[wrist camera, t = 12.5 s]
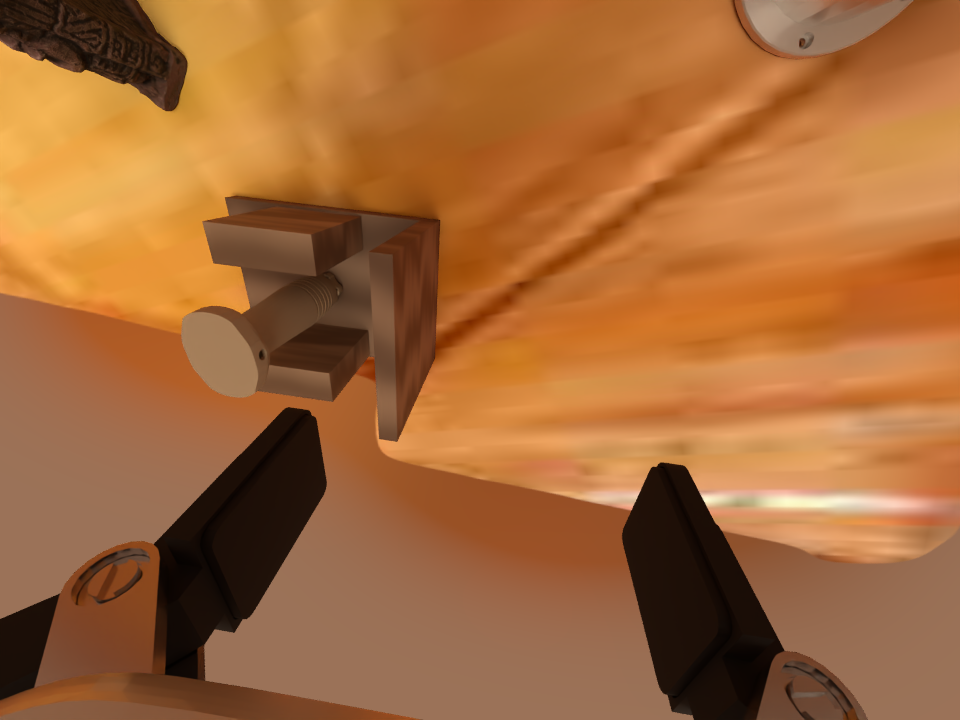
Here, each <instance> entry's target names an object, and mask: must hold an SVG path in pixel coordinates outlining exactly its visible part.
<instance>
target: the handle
mask: <svg viewBox="0 0 960 720" xmlns="http://www.w3.org/2000/svg"><path fill="white" fill-rule="evenodd" d="M341 292H342V285H341V284H339V283H338V282H337V280H336V279H335V277H334V275H333V274H332V273H327V274H323V273H322V274H320V275H318V276H306V277H303V278H300V279H298V280H295V281H293V282H291V283H289V284H287V285H285V286H283V287H282V288H280V289H279V290H277V291H276V292H274V293H273V294H271V295H270V296H268V297H267V298H265V299H264V300H262V301H261V302H260V303H258V304H257V305H255V306H253V307H252V308H250V309H249V310H247V311H246V312H244V313H243V314H240V313H239V312H237V311H235V310H233V309H230V308H226V307H221V306H209V307H204V308H201V309H198V310H196V311H194V312H192V313H190V314H188V315H186V316H185V317H184V318H183V321H182V333H181V336H182V343H183V346H184V349H185V351H186V354H187V356H188V358H189V361H190V363H191V365H192V366H193V368H194V369H195V371H196V372H197V373H198V375H199V376H200V377H201V378H202V379H203V380H204V381H205V383H206V384H207V385H208V386H209V387H210V388H211V389H213V390H214V391H216V392H218V393H221V394H223V395H226V396H231V397H248V396H250V395H252V394H254V393H255V392H257V391H258V390H259V389H260V388H261V387H262V386H263V385H264V384H265V381H266V378H267V375H268V370H269V364H270V353H271V352H272V351H274V350H275V349H277V348H278V347H280V346H281V345H283V344H284V343H286V342H287V341H289V340H290V339H292V338H293V337H295V336H296V335H298V334H300V333H301V332H303V331H304V330H306V329H307V328H309V327H311V326H312V325H313V324H315V323H316V322H317V321H318V320H320V319H321V318H322V317H323V316H324V315H325V314H326V313H327V312H328V311H329V310H330V309H331V307H332V306H333V305H334V304H335V303H336V302H337V301H338V296H339V294H340V293H341Z"/></svg>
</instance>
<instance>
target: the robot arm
mask: <svg viewBox="0 0 960 720" xmlns="http://www.w3.org/2000/svg"><path fill="white" fill-rule="evenodd" d="M734 1H735V7H736V10H737V13H738V15H739V18H740V21H741V23H742V26H743V27H744V29H745V30H746V31H747V33H748V34H749V36H750V37H751V39H752V40H753V41H754V42H756V43H757V44H758V45H759V46H760V47H762V48H763V49H764V50H766V51H768V52H770V53H772V54H775V55H777V56H779V57H786V58H792V59H804V58H815V57H819V56H822V55H826V54H829V53H833V52H836V51H838V50H841V49H844V48H846V47H849V46H851V45H854V44H856V43H857V42H859V41H861V40H863V39H864V38H866V37H868V36H870V35H872V34H873V33H875V32H876V31H878V30H879V29H880V28H882V27H883V26H884V25H886V24H887V23H888V22H890V21H891V20H892V19H894V18H895V17H896V16H897V15H899V14H900V13H901V12H902V11H903V10H904V9H905V8H906V7H907V6H908V5H909V4H910V3H911V2H912V1H913V0H734ZM799 40H800V41H801V46H800V47H799ZM326 485H327V481H326V475H325V469H324V463H323V457H322V450H321V445H320V438H319V432H318V426H317V420H316V418H315V417H314V416H312V415H311V412H310V411H309V410H303V409H297V408H290V407H288V408H285V409H284V410H283V411H282V412H281V413H280V414H279V415H278V416H277V417H276V418H275V419H274V420H273V421H272V422H271V423H270V425H269V426H268V427H267V428H266V429H265V430H264V431H263V432H262V433H261V434H260V435H259V436H258V437H257V438H256V439H255V440H254V441H253V442H252V443H251V444H250V446H248V447H247V449H246V450H245V451H244V452H243V453H242V454H240V455H239V456H238V457H237V458H236V459H235V460H234V461H233V462H232V463H231V464H230V465H229V466H228V468H226V469H225V470H224V472H223V473H222V474H221V475H220V476H219V477H218V478H217V479H216V480H215V481H214V482H213V483H212V484H211V485H210V486H209V487H208V488H207V490H205V491H204V492H203V493H202V494H201V496H200V497H199V498H198V499H197V500H196V501H195V502H194V503H193V504H192V505H191V506H190V507H189V508H188V509H187V510H186V511H185V512H184V513H183V514H182V515H181V516H180V517H179V518H178V519H177V521H175V523H174V524H173V525H172V526H171V527H170V528H169V529H168V530H167V531H166V532H165V533H164V534H163V535H162V536H161V537H160V538H159V539H158V540H157V541H156V542H155V543H154V544H152V543H148V542H145V541H137V542H128V543H125V544H121V545H117V546H115V547H113V548H110V549H108V550H106V551H103V552H102V553H100V554H98V555H97V556H95V557H94V558H92V559H90V560H89V561H87V562H86V563H85V564H84V565H83V566H81V567H80V568H79V569H78V570H77V571H76V572H74V574H73V575H72V576H71V577H70V578H69V580H68V581H67V582H66V583H65V585H64V587H63V589H62V591H61V593H60V594H58V595H56V596H53V597H51V598H48V599H46V600H44V601H41V602H39V603H37V604H34V605H32V606H30V607H27V608H25V609H23V610H20V611H18V612H16V613H13V614H11V615H9V616H6V617H4V618H2V619H0V720H420V719H415V718H410V717H405V716H399V715H394V714H389V713H383V712H378V711H373V710H367V709H362V708H356V707H350V706H345V705H340V704H335V703H329V702H324V701H317V700H312V699H306V698H301V697H296V696H291V695H285V694H280V693H274V692H268V691H263V690H258V689H252V688H247V687H240V686H234V685H228V684H221V683H215V682H209V681H205V652H204V644H205V643H206V641H207V640H208V638H209V637H210V635H211V634H212V632H213V631H214V629H217V630H222V631H228V632H233V633H234V632H235V631H236V629H237V628H238V626H239V624H240V623H241V621H242V619H247V618H248V617H250V616H251V615H252V613H253V612H254V610H255V609H256V607H257V605H258V604H259V602H260V600H261V599H262V597H263V595H264V594H265V592H266V590H267V588H268V587H269V585H270V584H271V582H272V580H273V579H274V577H275V575H276V574H277V572H278V570H279V569H280V567H281V565H282V563H283V562H284V560H285V558H286V557H287V555H288V554H289V552H290V550H291V549H292V547H293V545H294V543H295V542H296V540H297V538H298V537H299V535H300V534H301V532H302V530H303V529H304V527H305V525H306V524H307V522H308V520H309V518H310V517H311V515H312V513H313V512H314V510H315V508H316V507H317V505H318V503H319V502H320V500H321V498H322V497H323V495H324V492H325V490H326ZM622 540H623V545H624V550H625V554H626V557H627V562H628V565H629V569H630V573H631V577H632V581H633V585H634V589H635V593H636V597H637V601H638V605H639V609H640V613H641V617H642V621H643V625H644V629H645V633H646V637H647V641H648V645H649V649H650V653H651V657H652V661H653V665H654V669H655V673H656V677H657V681H658V684H659V687H660V689H661V691H662V692H663V693H664V694H667V695H668V698H669V702H670V706H671V710H672V712H677V713H682V714H688V715H693V718H694V720H868V719H867V717H866V715H865V713H864V710H863V709H862V707H861V706H860V704H859V703H858V701H857V700H856V699H855V697H854V695H853V694H852V693H851V692H850V691H849V690H848V688H847V687H846V686H845V685H844V684H843V683H842V682H841V681H840V680H839V678H837V677H836V676H835V675H834V674H833V673H831V672H830V671H829V670H828V669H827V668H826V667H824V666H823V665H821V664H820V663H818V662H816V661H815V660H813V659H812V658H810V657H808V656H805V655H803V654H800V653H797V652H790V651H784V649H783V647H782V645H781V643H780V641H779V639H778V637H777V636H776V633H775V632H774V630H773V628H772V626H771V624H770V622H769V620H768V619H767V616H766V614H765V612H764V610H763V609H762V607H761V605H760V603H759V601H758V599H757V597H756V596H755V593H754V591H753V590H752V588H751V586H750V584H749V582H748V580H747V578H746V576H745V574H744V572H743V570H742V569H741V567H740V565H739V563H738V561H737V559H736V557H735V555H734V554H733V551H732V549H731V548H730V545H729V544H728V542H727V540H726V538H725V536H724V534H723V532H722V531H721V529H720V528H719V526H718V525H717V524H715V522H714V520H713V518H712V516H711V514H710V512H709V510H708V508H707V506H706V504H705V502H704V500H703V499H702V497H701V495H700V493H699V491H698V489H697V487H696V485H695V483H694V481H693V479H692V477H691V475H690V473H689V471H688V470H687V468H686V467H685V466H683V465H676V464H670V463H659V464H658V466H657V467H652V468H651V469H650V471H649V473H648V476H647V478H646V480H645V482H644V484H643V487H642V489H641V491H640V493H639V495H638V498H637V500H636V502H635V504H634V506H633V509H632V511H631V513H630V515H629V517H628V520H627V522H626V524H625V526H624V528H623V533H622Z"/></svg>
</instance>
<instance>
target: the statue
mask: <svg viewBox="0 0 960 720" xmlns="http://www.w3.org/2000/svg"><path fill="white" fill-rule="evenodd" d="M0 41H1V42H3V43H4V44H6V45H7V46H9V47H10V48H11V49H13V50H16V51H20V52H24V53H27V54H28V55H29V56H30V57H32V58H34V59H36V60H40V61H43V60H44V59H47V60H49V61H50V62H52V63H53V64H55V65H56V66H59V67H61V68H64V69H67V70H70V71H73V72H80V73H81V72H83V71H84V70H88V71H91V72H95V73H97V74H99V75H101V76H103V77H105V78H108V79H110V80H112V81H115V82H118V83H121V84H126V83H129V84H131V85H132V86H134V87H135V88H137V89H138V90H139V91H140V93H142V94H144V95H145V96H147V97H148V98H149V99H151V100H152V101H153V102H154V103H155V104H156V105H157V106H159V107H160V108H162V109H163V110H165V111H172V110H173V109H174V108H175V107H176V105H177V102H178V96H179V93H180V90H181V87H182V85H183V81H184V77H185V74H186V69H187V61H186V59H185V57H184V56H183V55H182V54H181V53H180V52H179V51H178V49H177V48H176V47H173V46H171V45H170V44H169V43H168V42H167V41H166V40H165V39H164V38H163V37H162V36H161V35H160V34H159V33H156V31H155V29H154V27H153V25H152V23H151V21H150V19H149V17H148V16H147V15H146V13H145V12H144V11H143V10H142V9H141V7H140V5H139V3H138V1H137V0H0Z"/></svg>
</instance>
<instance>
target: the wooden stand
mask: <svg viewBox="0 0 960 720" xmlns="http://www.w3.org/2000/svg"><path fill="white" fill-rule="evenodd" d="M225 200H226V204H227V208H228V213H229V216H227V217H222V218H217V219H212V220H207V221H202V222H203V226H204V229H205V233H206V237H207V241H208V244H209V248H210V252H211V256H212V259H213V263H215V264H223V265H230V266H238V267H241V269H242V273H243V277H244V282H245V286H246V290H247V295H248V299H249V303H250V308H252V307H253V306H255V305H257V304H258V303H260V302H261V301H262V300H264V299H265V298H267V297H268V296H270V295H271V294H273V293H274V292H276V291H277V290H279V289H280V288H282V287H283V286H285V285H287V284H289V283H291V282H293V281H295V280H298V279H300V278H303V277H306V276H318V275H320V274H322V273H323V274H327V273H332V274H333V275H334V277H335V279H336V280H337V282H338V283H339V284H341V285H342V292H341V293H340V294H339V296H338V301H337V302H336V303H335V304H334V305H333V306H332V307H331V309H330V310H329V311H328V312H327V313H326V314H325V315H324V316H323V317H322V318H321V319H320V320H318V321H317V322H316V323H315V324H313V325H312V326H311V327H309V328H307V329H306V330H304V331H303V332H301V333H300V334H298V335H296V336H295V337H293V338H292V339H290V340H289V341H287V342H286V343H284V344H283V345H281V346H280V347H278V348H277V349H275V350H274V351H272V352H271V353H270V364H269V370H268V375H267V378H266V381H265V384H264V385H263V386H262V387H261V388H260V389H259V390H258V391H262V392H269V393H276V394H283V395H290V396H296V397H303V398H311V399H317V400H324V401H331V402H333V401H334V400H335V398H336V397H337V396H338V395H339V393H340V392H341V391H342V390H343V388H344V387H345V386H346V384H347V383H348V382H349V381H350V379H351V378H352V377H353V375H354V374H355V373H356V372H357V370H358V369H359V368H360V367H361V365H362V364H363V363H364V362H365V360H366V359H367V358H368V357H369V356H370V357H375V374H376V390H377V391H376V392H377V409H378V427H379V439H383V440H389V441H396V442H397V441H398V439H399V437H400V435H401V432H402V430H403V428H404V426H405V423H406V421H407V419H408V417H409V415H410V412H411V410H412V408H413V406H414V403H415V401H416V399H417V397H418V395H419V392H420V390H421V388H422V386H423V384H424V381H425V379H426V377H427V375H428V372H429V370H430V368H431V366H432V364H433V361H434V359H435V339H436V312H437V285H438V259H439V232H440V220H435V219H427V218H418V217H410V216H401V215H393V214H384V213H376V212H367V211H359V210H350V209H342V208H333V207H325V206H316V205H308V204H300V203H291V202H283V201H274V200H266V199H257V198H249V197H240V196H232V197H225Z"/></svg>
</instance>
